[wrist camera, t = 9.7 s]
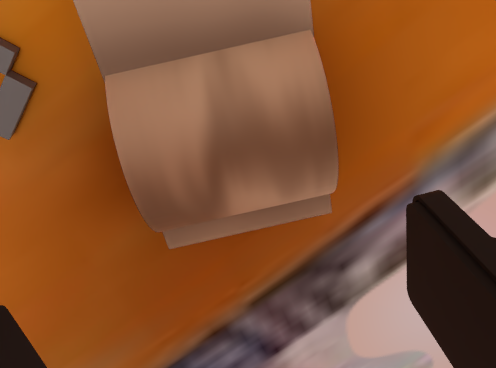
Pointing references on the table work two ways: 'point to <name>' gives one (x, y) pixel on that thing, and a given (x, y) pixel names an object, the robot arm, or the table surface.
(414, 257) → the robot arm
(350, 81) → the table surface
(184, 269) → the table surface
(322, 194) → the lane
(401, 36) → the table surface
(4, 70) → the grey piece
